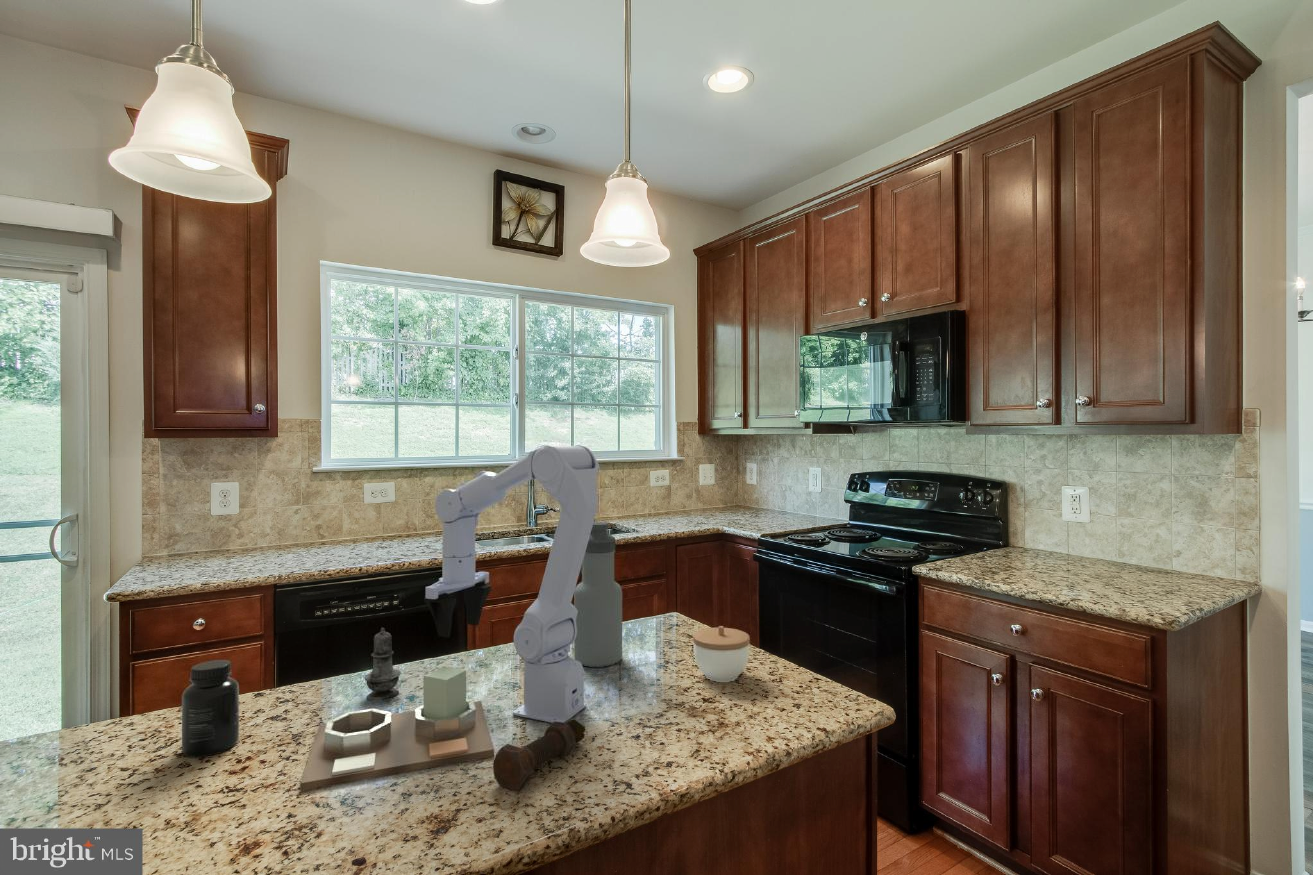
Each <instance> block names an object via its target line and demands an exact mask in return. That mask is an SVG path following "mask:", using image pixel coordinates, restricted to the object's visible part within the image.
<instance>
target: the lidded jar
mask: <svg viewBox="0 0 1313 875" xmlns="http://www.w3.org/2000/svg"><path fill="white" fill-rule="evenodd" d="M692 642H693V653H694V659H695V663H696V665H697V668H698V669H699V671H700V672H701V673H702V674H703V675H705V676H706V677H705V676H704V677H705V678H706V679H707V680H708V679H710V680H709V681H711V682H714V681H716V682H715V683H731V682H730V681H732V682H734V681H736V680H737V679H738V678H739V676H740V675H741V674H742V673H743V672H744V671H745V669H746V668H747V665H748V661H749V658H750V657H749V655H750V642H751V637H750V634H748V633H747V632H745V631H742V630H741V629H736V628H731V627H730V628H729V627H725V626H723V625H719V626H718V627H709V628H708V627H707V628H702V629H699V630H697V631H695V632H694V633H693V635H692ZM735 679H736V680H735Z"/></svg>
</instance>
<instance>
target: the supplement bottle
mask: <svg viewBox="0 0 1313 875" xmlns="http://www.w3.org/2000/svg"><path fill="white" fill-rule="evenodd" d="M231 664H232V663H231V661H230V660H228V659H214V660H209V661H204V662H200V663H198V664H195V665H193V666H192V667H191V668H190V678H189V682H190V683H192V684H189V685H188V686H187V687H186V689H185V690H184V691H183V693H182V694H181V752H182V753H183V755H185V756H186V757H188V758H189V757H190V758H201V757H202V758H204V757H207V756H213V755H217V754H219V753H222V752H224V751H226V750H229V749H230V748H232V747H233V746H234V745H236V744H237V742H238V741H239V738H240V737H239V734H240V731H239V729H240V718H239V717H240V712H239V711H240V709H239V708H240V692H239V691H240V687H239V682H238V681H237V680H236V679H235V678H233V677H230V676H231V675H232V669H231V668H232V666H231Z"/></svg>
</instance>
